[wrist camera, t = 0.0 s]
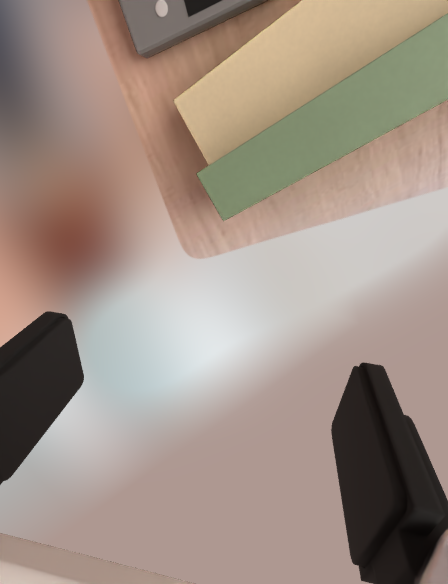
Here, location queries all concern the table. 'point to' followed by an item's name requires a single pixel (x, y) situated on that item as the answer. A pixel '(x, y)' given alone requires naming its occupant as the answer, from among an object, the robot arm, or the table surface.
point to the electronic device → (175, 20)
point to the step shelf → (314, 92)
